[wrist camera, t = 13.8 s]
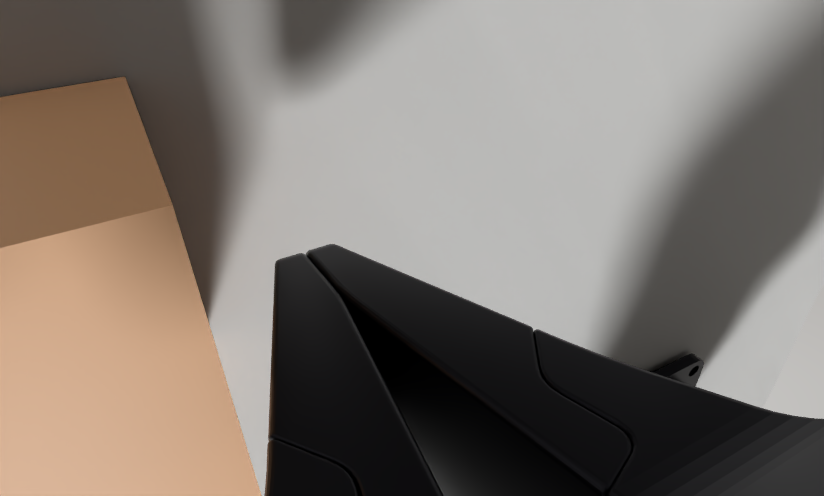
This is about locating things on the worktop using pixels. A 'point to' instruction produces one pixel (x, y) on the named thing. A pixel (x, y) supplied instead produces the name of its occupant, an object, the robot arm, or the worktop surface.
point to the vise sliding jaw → (102, 313)
